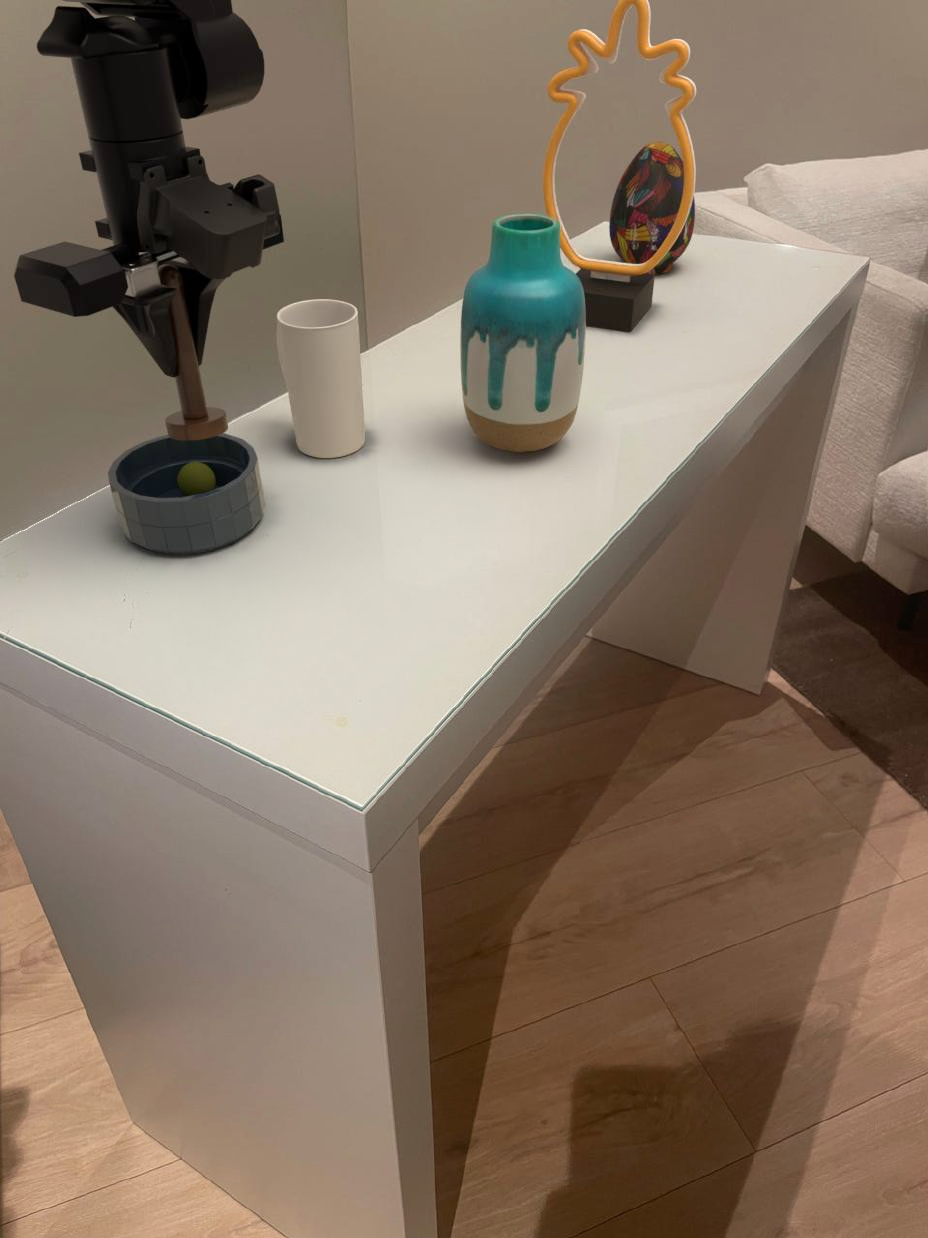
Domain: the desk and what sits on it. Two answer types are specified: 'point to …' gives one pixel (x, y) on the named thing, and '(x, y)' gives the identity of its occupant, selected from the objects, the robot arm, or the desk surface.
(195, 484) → the olive ball
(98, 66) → the robot arm
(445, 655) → the desk surface
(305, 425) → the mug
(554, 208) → the lamp
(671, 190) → the egg
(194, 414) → the stirring stick
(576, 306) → the vase
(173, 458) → the bowl
